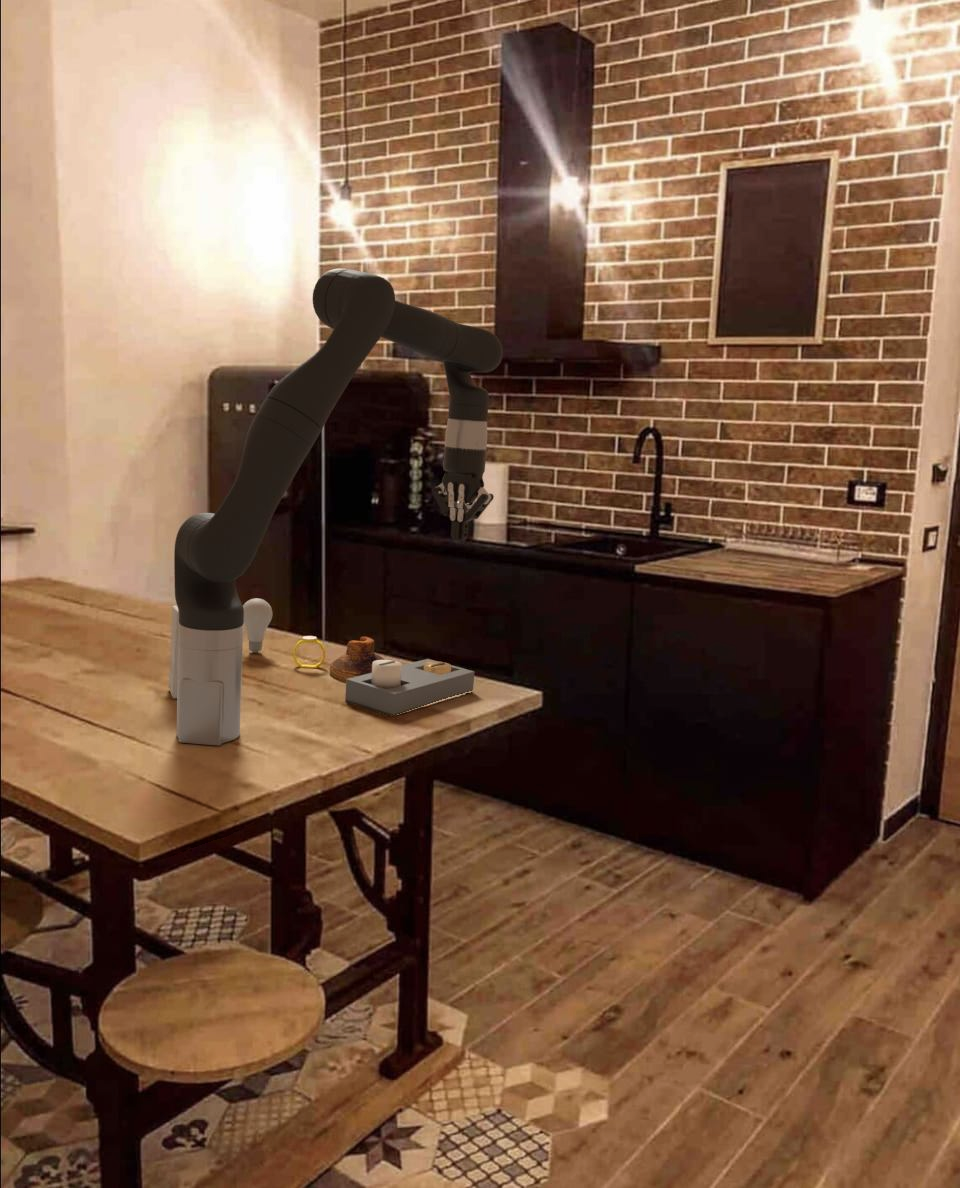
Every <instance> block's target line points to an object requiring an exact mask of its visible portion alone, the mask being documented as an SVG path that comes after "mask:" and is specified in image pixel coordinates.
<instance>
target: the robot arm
mask: <svg viewBox="0 0 960 1188" xmlns="http://www.w3.org/2000/svg"><path fill="white" fill-rule="evenodd" d="M312 291H313V292H312V306H313V310H314V313H315V314H316V316H317V318H318V319H319V320H320V321H321V323H323V324H324V325H325V326H326V327H328V328H330V329H333V330H332V332H331V333H330V334H329V336H328V338H327V340H326V341H325V343H324V344H323V345H322V346H321V347H320V349H319V350H317V351H316V352H315V353H314V354H313V355H312V356H310V357H309V358H307V360H305V361H303V362H302V363H301V364H300V365H299V366H297V367H296V368H294V369H293V370H291V371H290V372H288V374H285V376H284V377H282V378H281V379H280V380H279V381H278V382H276V384H275V385H273V387H272V388H271V389H270V391H269V393H268V394H267V395H266V397H265V399H264V400H263V402H262V404H261V406H260V407H259V409H258V411H257V412H256V414H255V416H254V417H253V419H252V421H251V422H250V425H249V428H248V430H247V433H246V436H245V437H246V438H245V439H244V441H245V442H244V445H243V449H242V450H243V451H242V455H241V460H240V465H239V470H238V472H237V475H236V477H235V480H234V482H233V483H232V486H231V488H230V490H229V491H228V493H227V495H226V496H225V498H224V499H223V501H222V503H221V505H220V506H219V507H218V509H217V510H216V512H215V513H213V512H200V513H197V514H193V515H192V516H190V517H188V518H187V519H186V520H185V521H184V522H183V523H182V524H181V525H180V527H179V528H178V531H177V534H176V538H175V540H174V541H175V542H174V551H173V552H174V555H173V556H174V557H173V558H174V559H173V560H174V561H173V562H174V565H173V569H174V572H173V573H174V575H173V576H174V597H175V598H174V599H175V603H176V606H177V607H178V611H179V644H178V685H177V698H176V699H177V700H176V736H177V738H178V742H179V743H184V744H185V743H186V744H194V745H195V744H197V745H205V746H206V745H209V746H221V745H222V744H224V743H228V742H231V741H233V740H234V741H235V740H236V739H237V738H238V737H239V736H240V734H241V708H242V707H241V706H242V704H241V703H242V702H241V701H242V677H243V676H242V675H243V674H242V673H243V650H244V649H243V647H244V608H243V605H244V604H243V603H242V601H241V600H240V597H239V595H238V591H237V586H236V579H237V578H239V577H240V576H242V575H243V574H245V572H246V571H247V569H248V568H249V567H250V566H251V564H252V562H253V560H254V558H255V556H256V554H257V552H258V550H259V547H260V545H261V543H262V541H263V537H264V536H265V534H266V531H267V529H268V527H269V524H270V522H271V520H272V519H273V516H274V514H275V512H276V509H277V507H278V505H279V504H280V502H281V501H282V499H283V497H284V495H285V494H286V492H287V490H288V489H289V487H290V485H291V483H292V482H293V480H294V479H295V476H296V474H297V473H298V471H299V469H300V468H301V466H302V463H304V461H305V459H306V458H307V456H308V454H309V453H310V451H311V449H312V448H313V446H314V445H315V442H316V441H317V439H318V437H319V436H320V433H321V432H322V430H323V428H324V426H325V425H326V422H328V421H327V420H328V419H329V417H330V415H331V413H332V411H333V410H334V409H335V406H336V404H337V403H338V401H339V400H340V398H341V396H342V395H343V393H344V391H345V390H346V389H347V387H348V385H349V383H350V381H351V380H352V379H353V377H354V375H355V374H356V372H357V371H358V369H360V366H361V365H362V364H363V362H364V361H365V360H366V358H367V357H368V356H369V354H370V352H371V351H372V350H373V349H374V347H375V346H376V344H377V343H378V342H379V340H381V338H383V339H386V340H388V341H390V342H392V343H395V344H398V345H400V346H402V347H404V348H406V349H409V350H410V351H414V352H416V353H418V354H421V355H423V356H426V357H429V358H432V359H434V360H436V361H441V362H443V367H444V371H445V378H446V383H447V389H448V395H449V401H448V413H447V418H448V419H447V423H446V428H445V437H444V451H443V462H442V463H443V466H442V467H443V471H444V475H443V477H442V479H441V483H440V484H439V485H437V486H433V487H432V488H431V493H432V496H433V497H434V500H435V502H436V503H437V505H438V507H439V509H440V511H441V513H442V515H443V516H444V517H448V518H449V520H450V521H451V525H450V526H451V527H450V538H451V541H453V542H455V543H465V542H466V540H467V539H468V536H469V525H470V524H469V523H470V522H471V521H473V520H478V519H479V518H480V516H481V515H482V514H483V513H484V512H485V510H486V509H487V507H488V506H489V505H490V504H491V502H492V501H493V500H494V499H495V498H494V494H493V493H489V492H488V491H487V490H486V489H485V482H484V479H483V476H484V473H485V472H486V461H487V459H486V458H487V447H488V446H487V445H488V414H489V403H490V395H489V391H488V390H486V389H485V388H483V387H480V386H478V385H475V383H474V382H473V379H472V375H471V373H483V374H484V373H485V374H486V373H490V372H493V371H495V369H497V368H498V367H499V366H500V364H501V363H502V359H503V355H504V351H503V346H502V343H501V341H500V339H499V337H498V336H497V335H496V334H494V333H493V332H492V331H489V330H486V329H483V328H479V327H477V326H473V325H468V324H463V323H459V322H456V321H455V320H452V319H450V318H449V317H445V316H443V315H442V314H439V313H436V312H434V311H431V310H428V309H426V308H423V307H420V306H415V305H412V304H408V303H405V302H401V301H399V300H396V294H395V293H396V292H395V291H394V287H393V286H392V284H391V283H390V282H389V280H387V279H385V278H384V277H382V276H379V275H377V274H373V273H368V272H364V271H362V270H356V269H350V268H341V267H339V268H334V269H330V270H328V271H326V272H324V273H323V274H322V275H321V276H320V277H319V278H318V279H317V281H316V283H315V285H314V288H313V290H312Z"/></svg>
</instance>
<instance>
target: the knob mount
mask: <svg viewBox="0 0 960 1188" xmlns="http://www.w3.org/2000/svg"><path fill="white" fill-rule="evenodd" d="M431 661H435V660H434V659H430V658H425V659H422V660H421V659H420V660H418V661H415V662H411V663H406V664H402V670H401V685H400V686H398V687H394V688H391V689H385V688H381V687H378V686H375V685H372V684H371V680H372V673H369V674H365V675H361V676H357V677H353V678H349V679H346V683H345V695H344V696H345V697H344V698H345V699H344V700H345V701H344V702H346V703H348V704H352V705H355V706H358V707H361V708H363V709H368V710H370V711H373V712H376V711H377V712H376V713H379V712H381V713H380V714H382V713H384V714H383V715H385V714H388V715H392V716H395V715H397V714H400V713H403V712H406V711H409V710H412V709H415V708H418V707H421V706H424V705H427V704H430V703H433V702H436V701H439V700H442V699H446V698H448V697H452V696H455V695H459V694H463V693H465V692H469V691H472V690H473V691H474V681H475V671H474V670H469V669H466V668H463V667H460V666H457V665H451V664H450V665H451V672H449V673H446V674H442V675H438V674H434V673H431V672H427V671H424V663H426V662H431ZM436 661H437V660H436ZM437 662H439V661H437ZM388 715H387V716H388ZM392 716H391V717H392ZM395 717H396V716H395Z"/></svg>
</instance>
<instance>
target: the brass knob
mask: <svg viewBox="0 0 960 1188" xmlns="http://www.w3.org/2000/svg"><path fill="white" fill-rule="evenodd" d="M424 671H427V672H431V673H434V674H438V675H442V674H446V673H449V672H451V664H450V663H447V662H443V661H438V662H437V660H434V661H431V662H426V663H424Z"/></svg>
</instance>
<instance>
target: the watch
mask: <svg viewBox="0 0 960 1188" xmlns="http://www.w3.org/2000/svg"><path fill="white" fill-rule="evenodd" d="M303 643H309V644H313V643H315V644H317V645H318V646H319V647H320V649H321V650H322V657H321V659H320V661H319V662H317V663H316V664H302V663H301V662H300V661H299V660H298V657H297V655H296V653H297V652H296V651H297V648H298V647H299V646H300V645H301V644H303ZM292 653H293V654H292V657H293V660H294V662H295V664H296V665H297V666H298V667H299V668H304V669H317V668H319V667H320V666H321V665H322V664H323V662H324V660H325V658H326V648H325V647H324V645H323V642H322V641H320V640H318V637H317V636H314V635H304V636H302V638H301V639H300V640H299V641H297V643H296V644H295V645H294V647H293V652H292Z"/></svg>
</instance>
